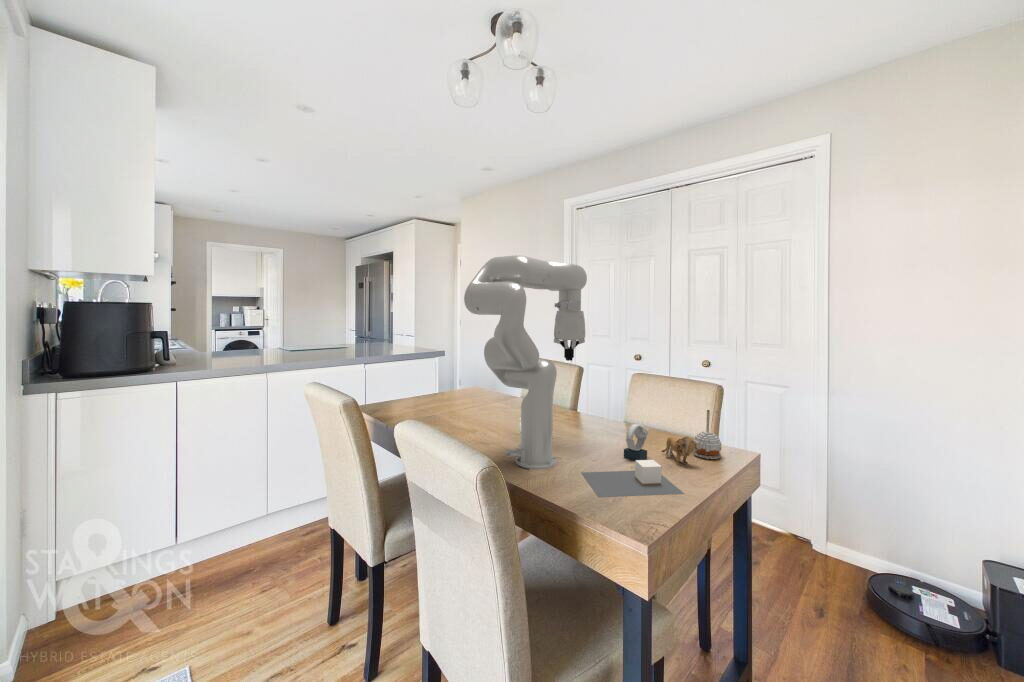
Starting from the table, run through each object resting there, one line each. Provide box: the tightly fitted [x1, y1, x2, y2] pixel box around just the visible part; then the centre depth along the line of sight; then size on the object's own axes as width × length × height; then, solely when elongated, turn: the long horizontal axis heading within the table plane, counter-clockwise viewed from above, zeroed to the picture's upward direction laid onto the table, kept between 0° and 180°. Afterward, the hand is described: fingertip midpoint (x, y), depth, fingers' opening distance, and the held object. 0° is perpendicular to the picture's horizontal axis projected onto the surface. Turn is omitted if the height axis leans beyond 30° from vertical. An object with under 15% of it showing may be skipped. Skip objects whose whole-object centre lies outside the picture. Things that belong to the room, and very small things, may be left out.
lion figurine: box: [661, 435, 699, 466], centre depth 128 cm, size 15×5×9 cm, turn 17°
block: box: [634, 459, 663, 486], centre depth 110 cm, size 5×5×5 cm
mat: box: [580, 470, 685, 498], centre depth 110 cm, size 22×16×1 cm
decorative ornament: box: [692, 409, 722, 460], centre depth 132 cm, size 8×8×15 cm
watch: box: [623, 423, 649, 462], centre depth 129 cm, size 6×8×11 cm
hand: (568, 360), depth 143 cm, fingers closed
